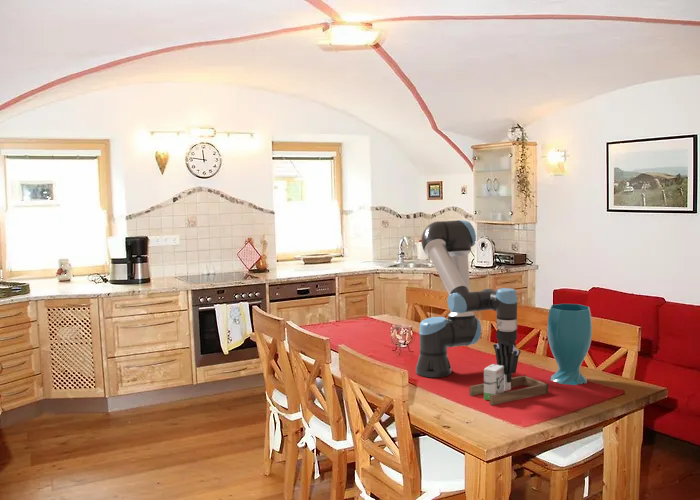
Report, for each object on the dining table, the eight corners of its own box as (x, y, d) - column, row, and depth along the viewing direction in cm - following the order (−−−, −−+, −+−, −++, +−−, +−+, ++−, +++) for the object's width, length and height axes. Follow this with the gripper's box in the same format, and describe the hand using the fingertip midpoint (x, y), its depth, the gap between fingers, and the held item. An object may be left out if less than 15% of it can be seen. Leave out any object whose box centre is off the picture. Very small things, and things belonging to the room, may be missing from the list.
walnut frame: (469, 395, 254) (469, 386, 254) (524, 383, 267) (524, 375, 266) (491, 405, 242) (491, 396, 242) (548, 393, 255) (548, 384, 254)
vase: (567, 388, 260) (568, 313, 256) (537, 376, 275) (538, 305, 272) (600, 382, 267) (602, 308, 263) (570, 370, 282) (571, 301, 279)
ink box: (495, 401, 246) (495, 370, 245) (483, 399, 249) (483, 368, 248) (504, 395, 253) (504, 365, 252) (492, 393, 256) (492, 363, 255)
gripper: (487, 327, 255) (487, 386, 258) (510, 334, 244) (510, 396, 246) (502, 324, 259) (503, 383, 261) (526, 331, 247) (526, 392, 250)
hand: (506, 389), depth 254 cm, fingers closed
